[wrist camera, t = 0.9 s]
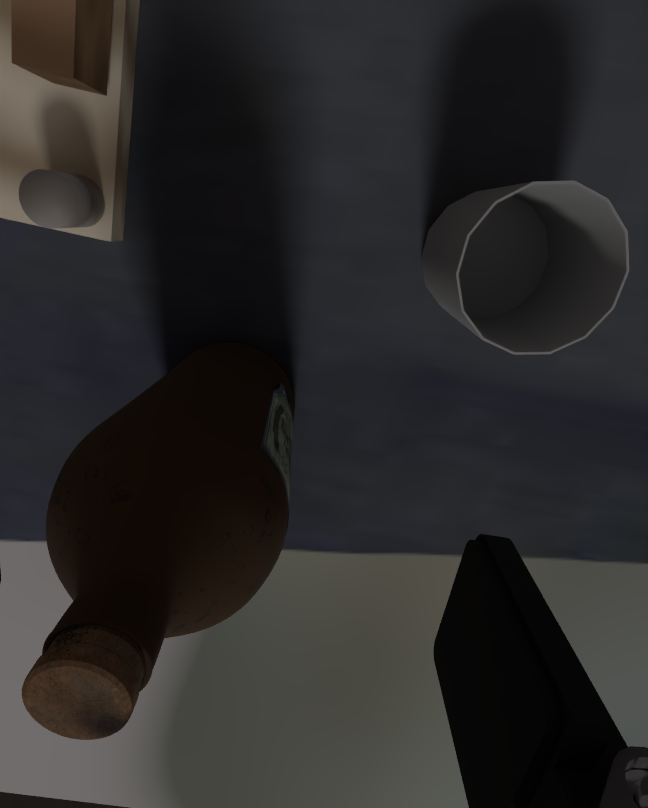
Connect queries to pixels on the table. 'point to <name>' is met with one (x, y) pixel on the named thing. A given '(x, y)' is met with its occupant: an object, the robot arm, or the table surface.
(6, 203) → the stool seat
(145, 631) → the olive oil
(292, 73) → the table surface
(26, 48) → the folding leg
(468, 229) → the cup
